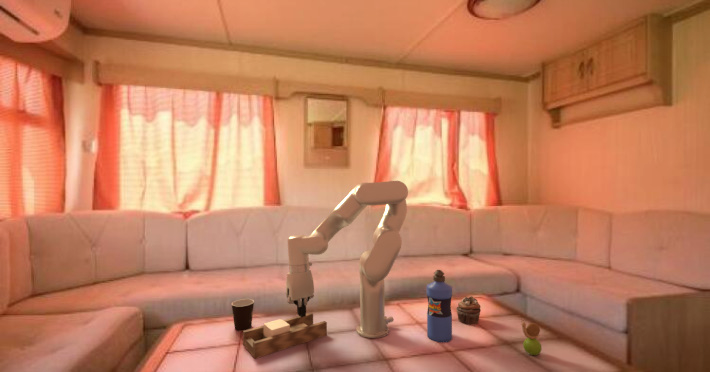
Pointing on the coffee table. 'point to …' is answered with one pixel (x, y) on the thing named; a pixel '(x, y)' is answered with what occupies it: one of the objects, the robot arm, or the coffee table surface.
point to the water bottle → (439, 309)
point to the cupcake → (468, 311)
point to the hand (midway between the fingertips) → (302, 315)
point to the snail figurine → (531, 338)
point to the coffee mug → (242, 314)
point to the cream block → (276, 328)
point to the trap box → (283, 336)
